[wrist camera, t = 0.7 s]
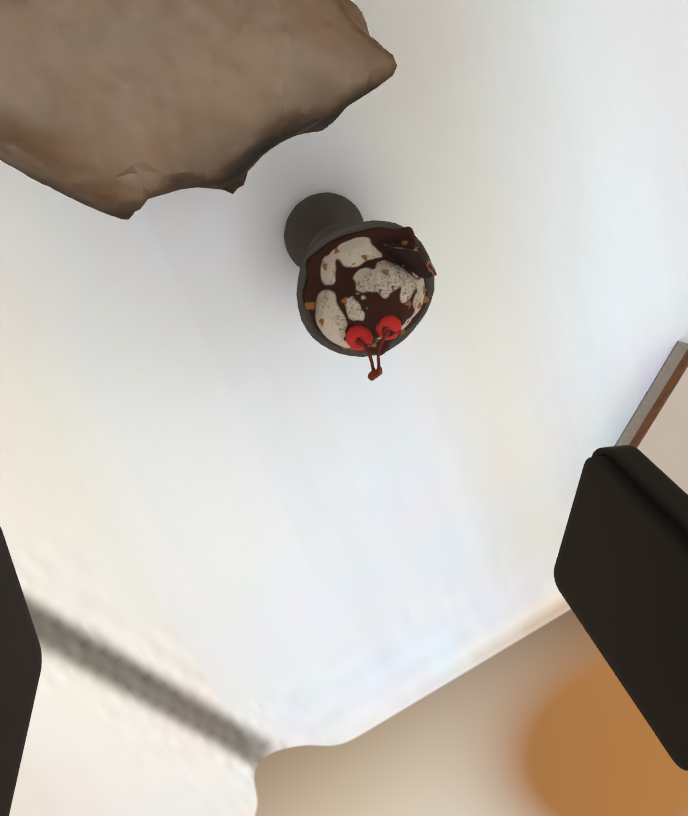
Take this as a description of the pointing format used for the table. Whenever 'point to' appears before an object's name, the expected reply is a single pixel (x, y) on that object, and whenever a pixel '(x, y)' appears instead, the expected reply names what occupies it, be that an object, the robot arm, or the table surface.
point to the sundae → (357, 277)
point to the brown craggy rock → (171, 89)
